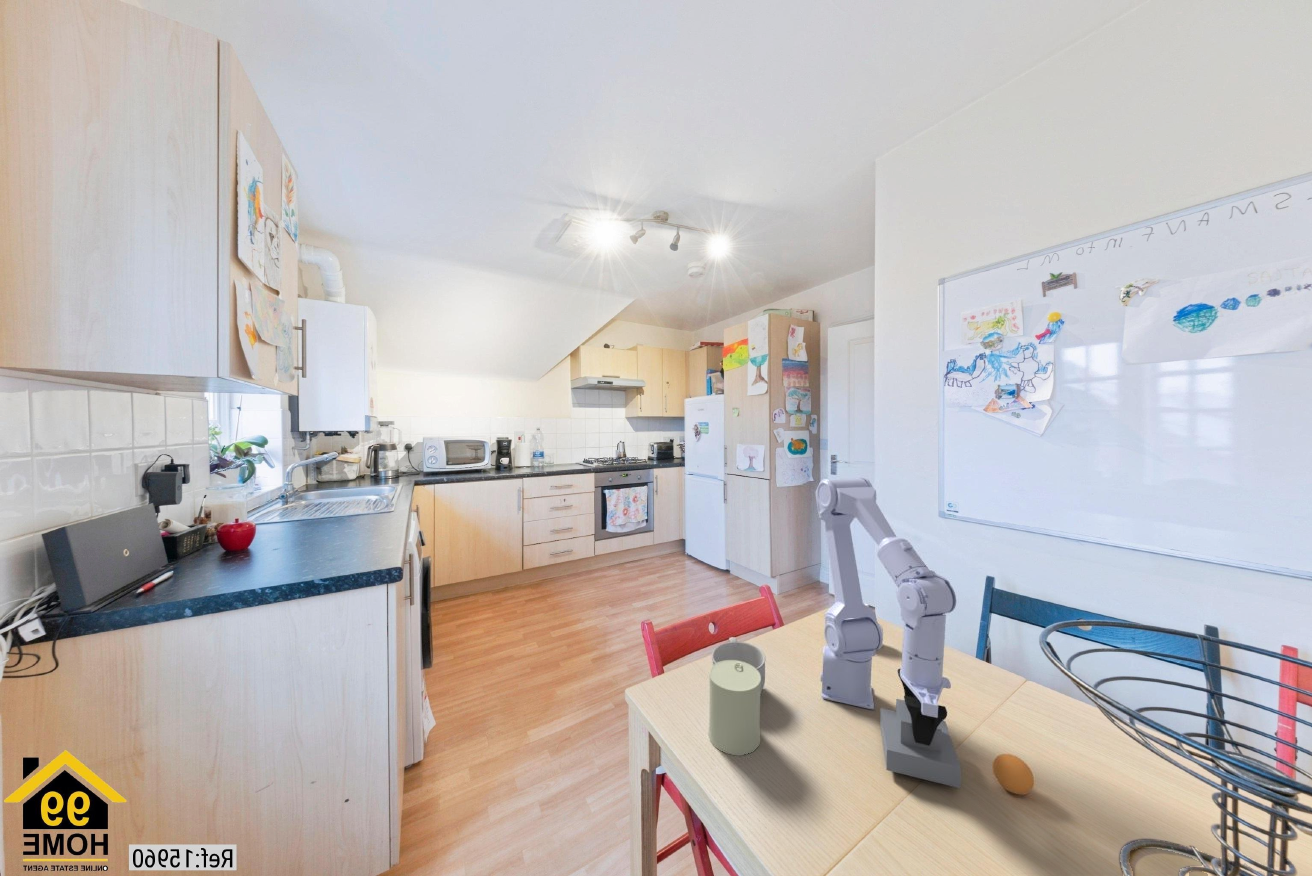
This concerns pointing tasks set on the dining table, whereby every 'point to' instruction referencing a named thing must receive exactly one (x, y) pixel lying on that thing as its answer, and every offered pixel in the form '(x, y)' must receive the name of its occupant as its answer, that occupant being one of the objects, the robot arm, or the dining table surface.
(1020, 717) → the dining table surface
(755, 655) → the teacup
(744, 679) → the can
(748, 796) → the dining table surface
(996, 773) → the brown egg
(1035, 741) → the dining table surface
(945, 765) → the low gray platform
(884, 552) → the robot arm
